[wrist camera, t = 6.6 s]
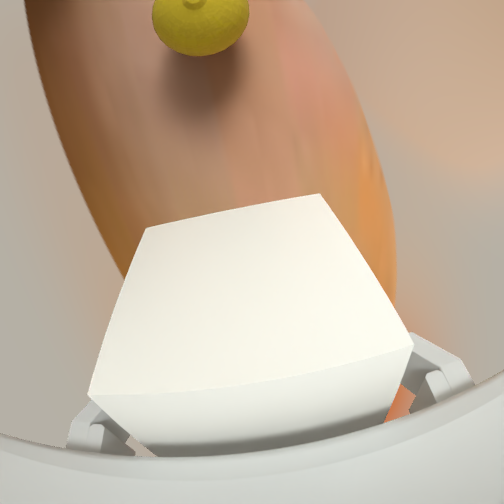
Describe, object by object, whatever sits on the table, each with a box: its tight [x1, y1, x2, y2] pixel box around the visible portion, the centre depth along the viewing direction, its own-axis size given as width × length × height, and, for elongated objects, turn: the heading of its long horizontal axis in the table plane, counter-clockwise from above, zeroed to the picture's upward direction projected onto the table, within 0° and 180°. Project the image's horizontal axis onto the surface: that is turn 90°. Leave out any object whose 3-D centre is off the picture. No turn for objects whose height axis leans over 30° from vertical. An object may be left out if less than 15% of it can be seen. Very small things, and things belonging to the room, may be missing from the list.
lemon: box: [152, 0, 249, 56], centre depth 13 cm, size 6×6×8 cm
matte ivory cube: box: [88, 193, 414, 457], centre depth 11 cm, size 7×7×8 cm
